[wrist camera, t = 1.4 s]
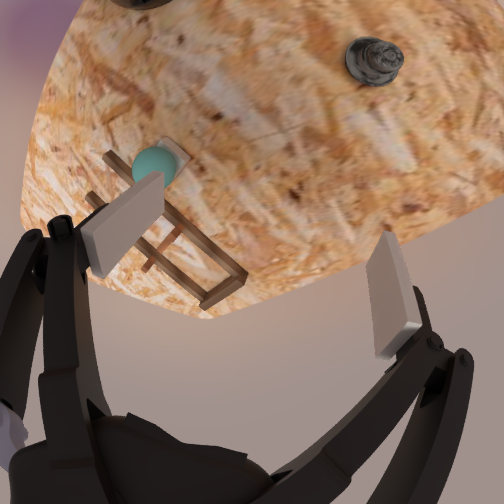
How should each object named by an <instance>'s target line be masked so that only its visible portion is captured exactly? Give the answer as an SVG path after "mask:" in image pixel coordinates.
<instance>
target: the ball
mask: <svg viewBox="0 0 504 504" xmlns="http://www.w3.org/2000/svg"><path fill="white" fill-rule="evenodd" d="M153 170H155V171H160V172H164V188H166V187H167V186H168V185H169V184H170V183H171V182H172V181H173V179H174V177H175V174H176V162H175V159H174V157H173V156H172V154H171V153H170V152H169V151H167V150H166V149H164V148H161V147H149V148H146V149H144V150H143V151H141V152H140V153H139V154H138V155H137V156H136V158H135V160H134V162H133V165H132V176H133V179H134V181H135V183H137V182H138V181H139V180H141V179H142V178H144V177H145V176H146V175H148V174H149V173H150V172H152V171H153Z"/></svg>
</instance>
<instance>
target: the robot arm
mask: <svg viewBox="0 0 504 504" xmlns="http://www.w3.org/2000/svg"><path fill="white" fill-rule="evenodd" d="M111 1H112V2H114V3H115V4H117V5H119V6H121V7H125V8H130V9H136V10H145V9H151V8H155V7H158V6H161V5H163V4H165V3H167V2H169V1H171V0H111ZM163 212H164V172H160V171H155V170H153V171H152V172H150V173H149V174H148V175H146V176H145V177H144V178H142V179H141V180H139V181H138V182H137V183H135V184H134V185H133V186H131V187H130V188H129V189H128V190H126V191H125V192H124V193H122V194H121V195H120V196H119V197H117V198H116V199H115V200H114V201H112V202H111V203H110V204H109V203H107V204H105V205H102V206H100V207H99V208H97V209H96V210H95V211H94V212H93V213H91V214H90V215H89V216H88V217H87V218H85V219H84V220H83V221H82V222H81V223H80V224H78V225H77V226H76V227H75V228H74V226H73V222H72V218H71V217H70V216H69V215H59V216H56V217H54V218H53V219H51V220H50V221H49V222H48V224H47V227H48V231H49V234H50V237H51V238H50V237H43V234H42V231H41V230H40V229H31V230H29V231H27V232H26V233H25V234H24V235H23V236H22V237H21V240H20V241H19V243H18V244H17V246H16V248H15V250H14V252H13V254H12V256H11V257H10V259H9V261H8V263H7V265H6V267H5V269H4V271H3V274H2V276H1V278H0V466H1V467H2V468H3V469H5V470H6V471H7V472H8V473H9V481H10V490H11V500H10V504H330V503H331V502H332V501H333V500H334V499H335V498H336V497H337V496H339V495H340V494H341V493H342V492H343V491H344V490H345V489H346V488H347V487H348V486H349V484H350V483H351V477H352V475H353V474H354V473H355V472H356V471H357V470H358V468H360V466H362V465H363V463H364V462H365V461H366V460H367V459H368V458H369V457H370V456H371V455H372V454H373V452H374V451H375V450H376V449H377V448H378V447H379V446H380V444H381V443H382V442H383V441H384V440H385V439H386V437H387V436H388V435H389V434H390V432H391V431H392V430H393V429H394V427H395V426H396V425H397V423H398V422H399V421H400V419H401V418H402V417H403V415H404V414H405V413H406V411H407V410H408V408H409V407H410V405H411V404H412V403H413V401H414V400H415V398H416V397H417V395H418V394H419V396H418V398H417V401H416V404H415V407H414V409H413V412H412V415H411V417H410V420H409V422H408V425H407V427H406V430H405V432H404V434H403V436H402V439H401V441H400V443H399V445H398V447H397V449H396V452H395V454H394V456H393V458H392V460H391V462H390V464H389V466H388V468H387V469H386V471H385V473H384V475H383V477H382V479H381V480H380V482H379V484H378V485H377V487H376V489H375V491H374V492H373V494H372V496H371V497H370V499H369V500H368V502H367V503H366V504H437V502H438V500H439V498H440V495H441V493H442V491H443V488H444V486H445V483H446V481H447V478H448V476H449V473H450V470H451V468H452V465H453V462H454V459H455V456H456V452H457V449H458V446H459V442H460V439H461V435H462V431H463V427H464V423H465V419H466V414H467V409H468V404H469V399H470V393H471V387H472V380H473V372H474V360H473V357H472V355H471V354H470V353H469V352H468V351H467V350H466V349H464V348H460V349H458V350H457V351H456V352H455V353H452V352H450V351H449V350H447V349H445V348H444V344H443V341H442V339H441V338H440V336H439V335H438V334H437V333H435V332H433V331H432V327H431V324H430V319H429V316H428V312H427V310H426V309H427V308H426V305H425V301H424V298H423V295H422V293H421V292H420V290H419V288H418V287H416V286H413V285H412V283H411V279H410V276H409V273H408V270H407V266H406V263H405V260H404V257H403V254H402V251H401V249H400V246H399V243H398V240H397V237H396V235H395V234H394V233H391V232H388V231H385V230H384V231H383V233H382V235H381V237H380V239H379V241H378V243H377V245H376V247H375V249H374V251H373V253H372V255H371V257H370V259H369V261H368V263H367V265H366V272H367V278H368V285H369V293H370V302H371V311H372V321H373V331H374V346H375V358H377V359H383V360H390V359H391V358H392V357H393V356H394V355H395V354H396V359H397V361H396V362H395V363H394V364H393V365H392V366H390V367H389V368H388V369H387V370H386V371H385V374H384V375H383V377H382V378H381V379H380V380H379V381H378V382H377V383H376V385H375V386H374V387H373V388H372V389H371V390H370V391H369V392H368V393H367V394H366V395H365V396H364V397H363V398H362V400H361V401H360V402H359V403H358V404H357V405H356V406H355V407H354V408H353V409H352V410H351V411H350V412H349V413H347V414H346V415H345V416H344V417H343V418H342V419H341V420H340V421H339V422H338V423H337V424H336V425H335V426H334V427H333V428H332V429H330V430H329V431H328V432H327V433H326V434H325V435H324V436H322V437H321V438H320V439H319V440H318V441H317V442H315V443H314V444H313V445H312V446H310V447H309V448H308V449H307V450H305V451H304V452H303V453H302V454H300V455H299V456H298V457H297V458H295V459H294V460H292V461H291V462H289V463H287V464H286V465H284V466H283V467H281V468H280V469H278V470H277V471H275V472H274V473H272V474H271V475H268V473H266V471H265V470H264V469H263V468H261V467H260V466H259V465H258V464H256V463H254V462H253V461H251V460H249V459H247V455H248V454H246V453H242V452H237V451H234V450H230V449H226V448H222V447H219V446H209V445H195V444H186V443H182V442H180V441H179V440H177V439H176V438H174V437H173V436H171V435H170V434H168V433H167V432H165V431H164V430H163V429H161V428H160V427H158V426H156V424H153V423H151V422H149V421H146V420H144V419H142V418H140V417H137V416H135V415H133V414H131V413H129V412H128V413H127V416H126V417H125V416H112V414H111V411H110V409H109V406H108V404H107V402H106V400H105V397H104V395H103V390H102V386H101V381H100V376H99V372H98V366H97V361H96V355H95V349H94V343H93V336H92V327H91V319H90V309H89V297H88V281H87V273H86V269H87V268H88V267H89V266H90V267H91V271H92V274H93V275H95V276H97V277H100V278H102V279H105V277H106V276H107V275H108V274H109V273H110V271H111V270H112V269H113V268H114V267H115V265H116V264H117V263H118V262H119V261H120V260H121V258H122V257H123V256H124V255H125V254H126V253H127V252H128V250H129V249H130V248H131V247H132V246H133V245H134V244H135V243H136V241H137V240H138V239H139V238H140V237H141V236H142V235H143V234H144V233H145V232H146V230H147V229H148V228H149V227H150V226H151V225H152V224H153V223H154V222H155V221H156V220H157V219H158V218H159V217H160V216H161V214H162V213H163ZM32 271H33V272H32ZM42 317H43V354H44V372H43V373H41V374H40V375H39V377H38V387H39V397H40V405H41V412H42V419H43V424H44V430H45V435H46V440H44V441H41V442H38V443H35V444H33V445H30V446H27V447H25V444H24V441H25V440H26V439H27V438H28V432H27V429H26V428H25V427H24V424H23V422H22V420H23V417H24V413H25V409H26V403H27V396H28V388H29V380H30V373H31V367H32V361H33V355H34V351H35V346H36V341H37V337H38V333H39V328H40V324H41V320H42Z"/></svg>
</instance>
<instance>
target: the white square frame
mask: <svg viewBox="0 0 504 504" xmlns="http://www.w3.org/2000/svg"><path fill="white" fill-rule="evenodd" d="M155 147H161V148H164V149H166V150H167V151H169V152H170V153H171V154H172V156H173V157H174V159H175V161H176V162H177V163H176V174H175V177H176V176H177V175H178V173H179V172H180V171H181V170H182V168H183V167H184V166H185V165H186V163H187V162H188V161H189V160H190V158H191V157H190V156H189V155H188V154H187V153H185V152H184V151H183V150H182V149H181V148H180V147H179V146H178V145H177V144H175V143H174V142H173V141H172V140H171V139H170V138H169V137H165V138H163V139H161V140H160V141H159V142H158V143H157V145H156V146H155ZM175 177H174V179H175ZM174 179H173V180H174Z"/></svg>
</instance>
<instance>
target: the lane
mask: <svg viewBox="0 0 504 504" xmlns="http://www.w3.org/2000/svg"><path fill="white" fill-rule="evenodd" d="M102 160H103V161H104V162H105V163H106V164H108V165H109V166H110V167H111V168H112V169H113V170H114V171H115V172H116V173H117V174H118V175H119V176H120V177H121V178H122V179H123V180H125V181H126V182H127V183H128V184H129V185H130V186H133V185H134V184H135V181H134V179H133V176H132V169H131V168H130V167H129V166H128V165H127V164H126V163H125V162H123V161H122V160H121V159H120V158H119V157H118V156H117V155H116V154H115V153H114V152H113V151H112V150H110V151H108V152H106V153H104V155H103V157H102ZM85 200H86V201H87V202H88V203H89V204H90V205H91V206H92V207H93V208H94V209H95V210H96V209H97V208H99V207H100V206H102V205H105V204H106V203H105V202H104V201H103V200H101V199H100V198H99V197H98V196H97V195H96V194H95V193H94V192H93V191H91V192H89V193H88V194H87V195H86V196H85ZM162 215H163V216H164V217H165V218H166V219H167V220H168V221H170V222H171V223H172V224H173V225H174V226H175V228H174V229H173V230H172V231H171V233H170V234H169V235H168V236H167V237H166V238H165V240H164V241H163V242H162V243H161V244H160V246H159V247H158V248H157V249H155V248H154V247H153V246H151V245H150V244H149V243H148V242H147V241H146V240H145V239H144V238H142V237H140V238H139V239H138V240H137V241H136V243H135V244H134V246H135V247H136V248H137V249H138V250H139V251H141V252H142V253H143V254H144V255H145V256H146V257H147V258H149V259H148V260H147V261H146V263H145V264H144V265H143V267H142V268H141V270H142V271H144V272H145V273H147V271H148V270H149V269H150V268H151V266H152V265H153V264H155V265H157V266H158V267H159V268H160V269H161V270H163V271H164V272H165V273H166V274H167V275H168V276H170V277H171V278H172V279H173V280H174V281H176V282H177V283H178V284H179V285H181V286H182V287H183V288H184V289H185V290H187V291H188V292H189V293H190V294H192V295H193V296H194V297H195V298H197V299H198V300H199V301H200V304H199V307H200V308H201V309H203V310H204V311H206V310H207V309H209V308H210V307H212V306H213V305H215V304H216V303H218V302H219V301H221V300H223V299H224V298H226V297H227V296H229V295H230V294H232V293H233V292H235V291H236V290H238V289H239V288H241V287H242V286H244V284H245V282H246V279H247V276H248V272H246V271H245V270H244V269H243V268H242V267H241V266H239V265H238V264H237V263H236V262H235V261H234V260H233V259H231V258H230V257H229V256H228V255H227V254H226V253H225V252H223V251H222V250H221V249H220V248H219V247H218V246H217V245H216V244H214V243H213V242H212V241H211V240H210V239H209V238H208V237H206V236H205V235H204V234H203V233H202V232H201V231H200V230H199V229H197V228H196V227H195V226H194V225H193V224H192V223H191V222H190V221H188V220H187V219H186V218H185V217H184V216H183V215H182V214H181V213H179V212H178V211H177V210H176V209H175V208H174V207H173V206H172V205H171V204H169V203H168V202H167V201H166V200H165V199H164V212H163V213H162ZM181 232H182V233H183V234H184V235H185V236H186V237H188V238H189V239H190V240H191V241H192V242H193V243H194V244H196V245H197V246H198V247H199V248H200V249H201V250H202V251H204V252H205V253H206V254H207V255H208V256H209V257H211V258H212V259H213V260H214V261H215V262H216V263H218V264H219V265H220V266H221V267H222V268H223V269H225V270H226V271H227V272H228V273H229V274H230V275H231V276H230V277H229V278H227V279H226V280H224V281H223V282H222V283H220V284H219V285H217V286H216V287H215V288H213V289H212V290H211V291H209V292H208V293H207V292H206V291H205V290H204V289H202V288H201V287H200V286H199V285H197V284H196V283H195V282H194V281H193V280H191V279H190V278H189V277H188V276H186V275H185V274H184V273H183V272H182V271H181V270H179V269H178V268H177V267H176V266H175V265H173V264H172V263H171V262H170V261H169V260H168V259H166V258H165V257H164V256H163V255H162V254H161V253H162V252H163V251H164V250H165V249H166V248H167V247H168V245H169V244H170V243H171V242H174V241H175V240H176V238H177V237H178V236H179V235H180V233H181Z"/></svg>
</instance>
